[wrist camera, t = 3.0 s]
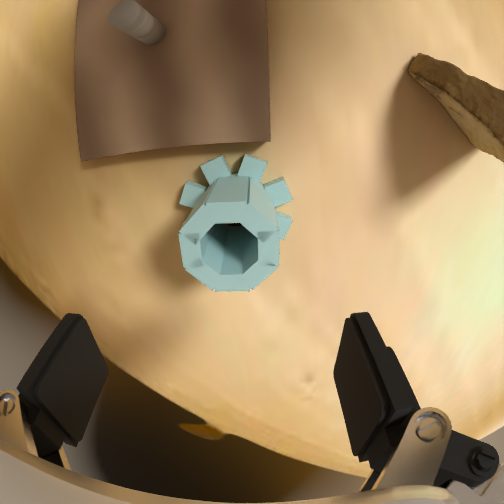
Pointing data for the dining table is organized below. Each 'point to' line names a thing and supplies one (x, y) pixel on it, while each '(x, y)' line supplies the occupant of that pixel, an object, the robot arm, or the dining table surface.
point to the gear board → (170, 74)
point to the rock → (465, 101)
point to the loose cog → (233, 237)
